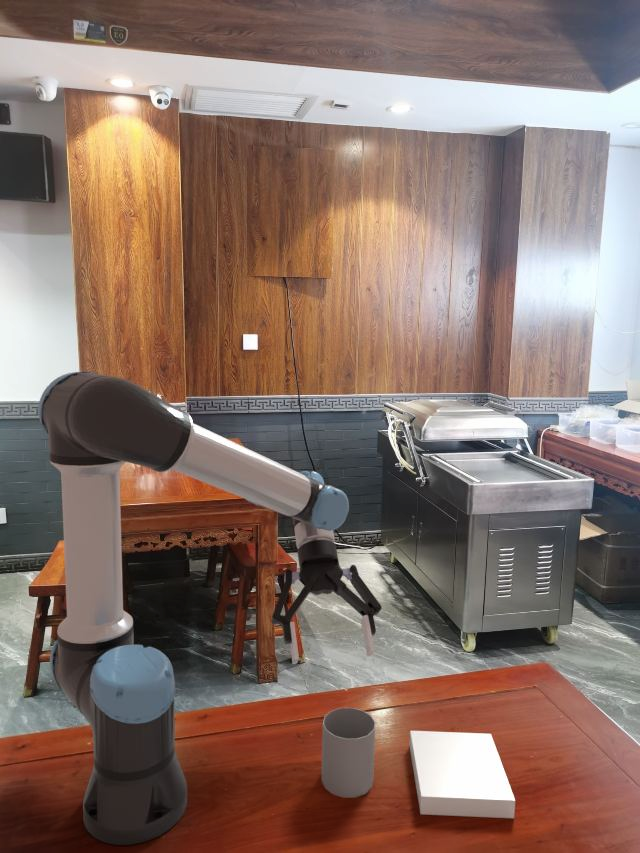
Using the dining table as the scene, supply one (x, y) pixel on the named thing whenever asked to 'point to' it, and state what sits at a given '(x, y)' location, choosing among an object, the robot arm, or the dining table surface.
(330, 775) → the cup
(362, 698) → the dining table surface
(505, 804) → the raised board
